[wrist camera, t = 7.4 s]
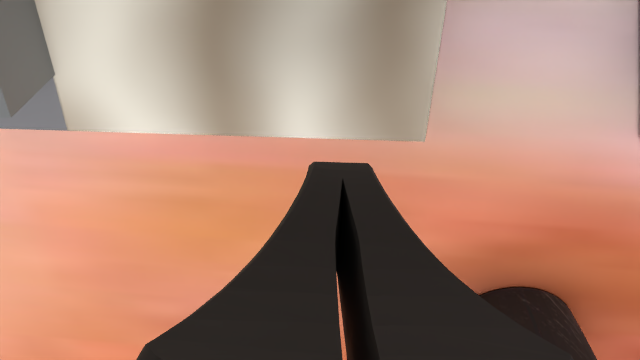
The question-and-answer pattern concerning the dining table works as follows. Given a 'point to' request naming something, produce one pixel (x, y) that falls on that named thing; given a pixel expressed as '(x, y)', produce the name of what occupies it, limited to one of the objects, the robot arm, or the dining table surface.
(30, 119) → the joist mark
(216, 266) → the dining table surface
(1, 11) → the block
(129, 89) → the subfloor plank
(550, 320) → the travel mug
